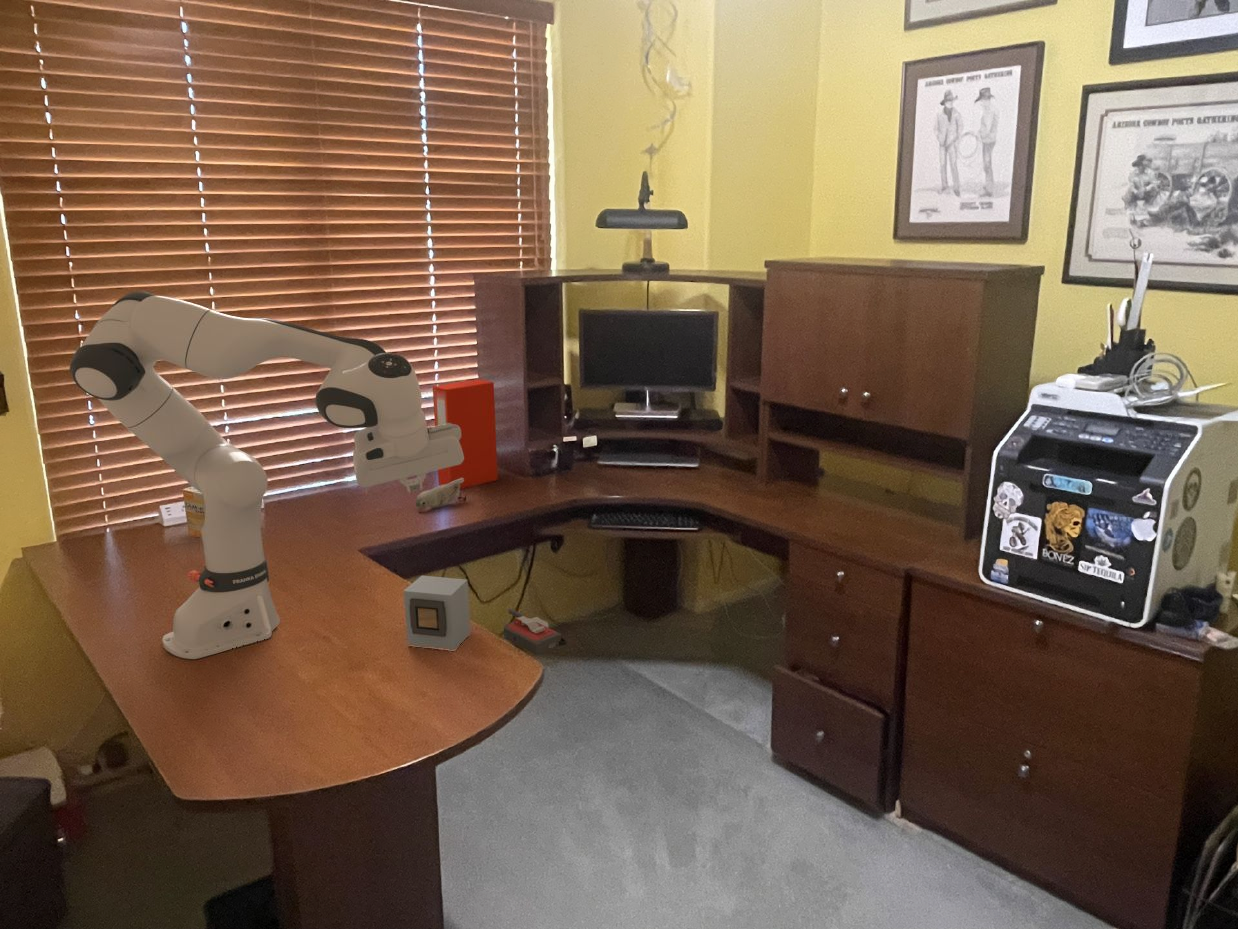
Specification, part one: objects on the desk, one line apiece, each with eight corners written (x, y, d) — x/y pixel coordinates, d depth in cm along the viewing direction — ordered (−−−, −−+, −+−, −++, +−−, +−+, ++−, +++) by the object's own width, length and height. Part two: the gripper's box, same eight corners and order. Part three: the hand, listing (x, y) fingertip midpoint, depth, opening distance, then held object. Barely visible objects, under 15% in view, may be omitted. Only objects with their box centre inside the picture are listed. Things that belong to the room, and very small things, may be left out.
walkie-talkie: (575, 645, 182) (513, 615, 196) (574, 625, 180) (513, 596, 194) (541, 660, 176) (480, 627, 190) (540, 639, 175) (479, 608, 188)
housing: (453, 653, 178) (449, 597, 175) (406, 648, 180) (401, 592, 177) (470, 634, 186) (467, 579, 183) (425, 629, 188) (421, 575, 185)
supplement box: (187, 535, 245) (180, 489, 242) (202, 530, 249) (196, 484, 246) (208, 540, 242) (201, 493, 238) (223, 534, 246) (217, 488, 242)
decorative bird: (412, 511, 264) (410, 486, 262) (460, 499, 274) (458, 475, 272) (422, 515, 260) (420, 490, 258) (469, 503, 270) (468, 479, 268)
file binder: (498, 480, 293) (493, 382, 285) (452, 491, 282) (446, 389, 274) (484, 475, 299) (479, 379, 290) (438, 485, 288) (432, 386, 279)
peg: (436, 628, 177) (435, 610, 176) (419, 626, 178) (417, 608, 177) (465, 599, 190) (464, 582, 189) (448, 597, 191) (447, 580, 190)
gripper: (455, 411, 171) (463, 465, 180) (345, 436, 166) (359, 490, 175) (463, 431, 167) (471, 485, 176) (350, 457, 161) (364, 512, 170)
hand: (414, 488), depth 175 cm, fingers closed
